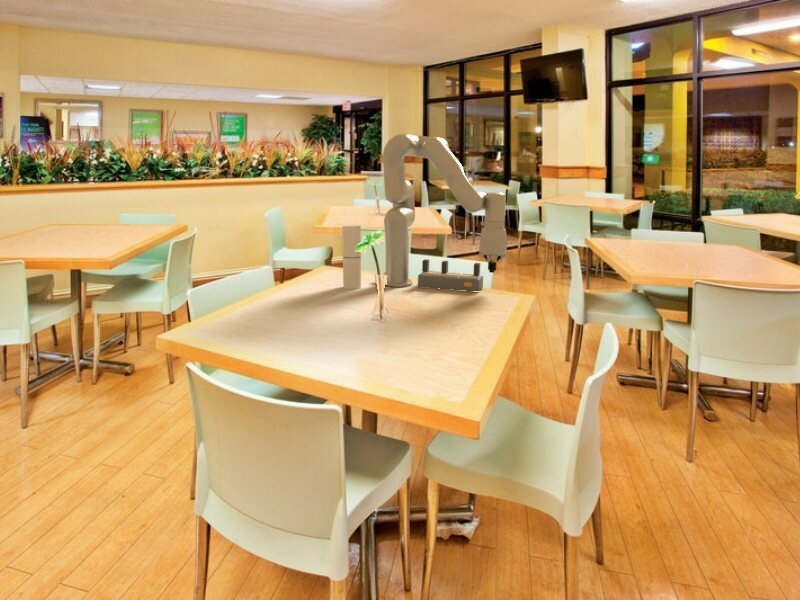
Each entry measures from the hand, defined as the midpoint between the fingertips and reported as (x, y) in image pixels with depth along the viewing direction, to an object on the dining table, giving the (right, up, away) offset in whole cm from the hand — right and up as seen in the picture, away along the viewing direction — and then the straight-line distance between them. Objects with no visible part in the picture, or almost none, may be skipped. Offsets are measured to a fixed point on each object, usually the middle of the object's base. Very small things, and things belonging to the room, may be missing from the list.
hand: (491, 271), depth 214 cm
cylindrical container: (-55, -6, +7) cm, 56 cm away
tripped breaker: (-6, -1, +2) cm, 6 cm away
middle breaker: (-18, 0, +6) cm, 19 cm away
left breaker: (-26, +1, +9) cm, 27 cm away
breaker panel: (-16, -6, +7) cm, 18 cm away
